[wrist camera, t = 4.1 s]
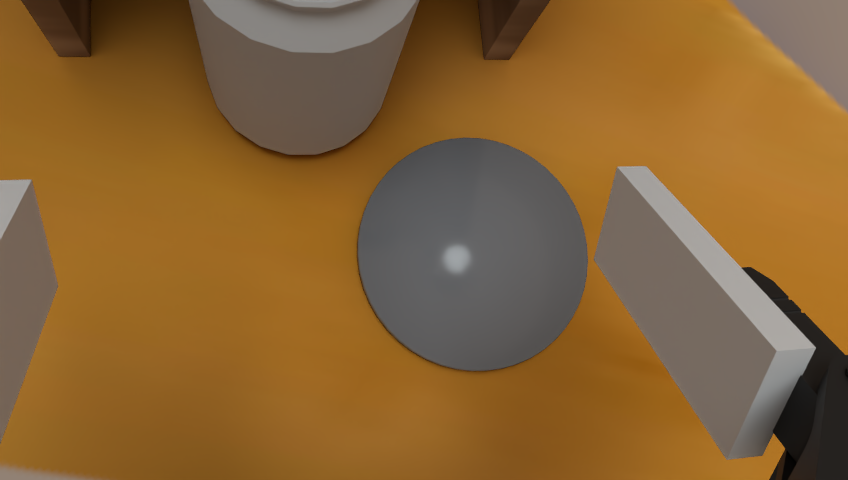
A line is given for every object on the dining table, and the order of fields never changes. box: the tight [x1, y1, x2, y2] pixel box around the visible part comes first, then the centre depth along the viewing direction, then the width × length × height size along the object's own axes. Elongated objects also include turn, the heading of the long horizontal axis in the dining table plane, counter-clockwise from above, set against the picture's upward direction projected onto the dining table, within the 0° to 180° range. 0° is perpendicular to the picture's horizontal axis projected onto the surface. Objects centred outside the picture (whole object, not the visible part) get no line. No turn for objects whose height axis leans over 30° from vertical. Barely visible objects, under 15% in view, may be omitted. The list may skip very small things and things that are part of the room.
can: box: [189, 0, 419, 155], centre depth 25 cm, size 8×8×12 cm
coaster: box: [357, 138, 588, 371], centre depth 31 cm, size 10×10×1 cm
